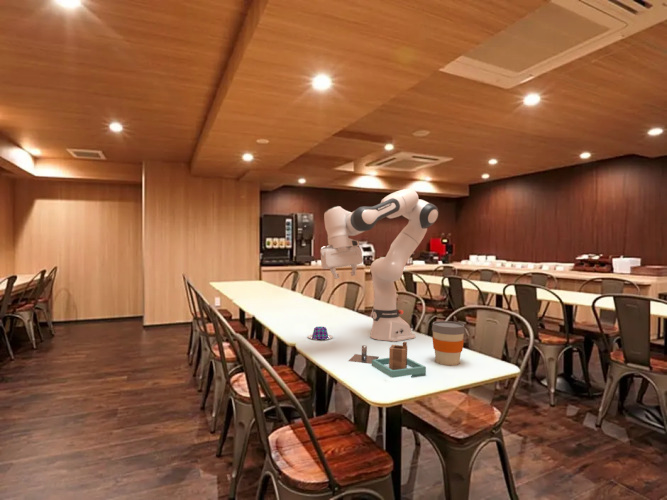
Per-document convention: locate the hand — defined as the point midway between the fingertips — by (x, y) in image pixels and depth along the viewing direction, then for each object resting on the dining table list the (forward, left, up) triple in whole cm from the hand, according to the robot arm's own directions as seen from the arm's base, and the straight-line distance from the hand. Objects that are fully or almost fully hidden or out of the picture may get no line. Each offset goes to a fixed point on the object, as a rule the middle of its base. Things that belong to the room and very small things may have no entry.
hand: (345, 277), depth 162 cm
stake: (-3, +12, -32) cm, 34 cm away
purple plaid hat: (-1, -29, -33) cm, 44 cm away
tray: (-9, +27, -32) cm, 43 cm away
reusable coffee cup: (-34, +24, -32) cm, 53 cm away
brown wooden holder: (-9, +27, -31) cm, 42 cm away
